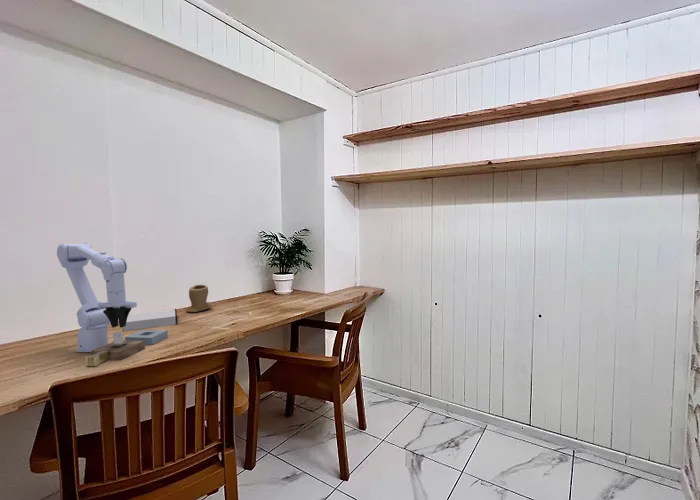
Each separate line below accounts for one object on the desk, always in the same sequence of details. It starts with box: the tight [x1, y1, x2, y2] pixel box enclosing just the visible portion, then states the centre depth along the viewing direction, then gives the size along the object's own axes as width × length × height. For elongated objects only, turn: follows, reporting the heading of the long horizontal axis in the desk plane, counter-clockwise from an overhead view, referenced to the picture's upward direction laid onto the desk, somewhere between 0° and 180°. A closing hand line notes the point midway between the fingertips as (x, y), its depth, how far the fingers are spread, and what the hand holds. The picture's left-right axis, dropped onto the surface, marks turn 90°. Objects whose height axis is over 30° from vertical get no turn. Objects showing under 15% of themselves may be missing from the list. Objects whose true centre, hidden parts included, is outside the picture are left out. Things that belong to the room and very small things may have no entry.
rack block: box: [124, 329, 169, 346], centre depth 145 cm, size 12×10×3 cm
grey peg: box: [112, 331, 124, 348], centre depth 130 cm, size 3×3×8 cm
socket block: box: [90, 339, 146, 361], centre depth 130 cm, size 12×12×3 cm
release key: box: [85, 351, 109, 367], centre depth 121 cm, size 4×6×3 cm, turn 173°
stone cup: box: [184, 284, 214, 313], centre depth 198 cm, size 15×12×15 cm
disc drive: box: [122, 308, 178, 332], centre depth 172 cm, size 18×22×5 cm
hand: (118, 326), depth 129 cm, fingers open, 3 cm apart
